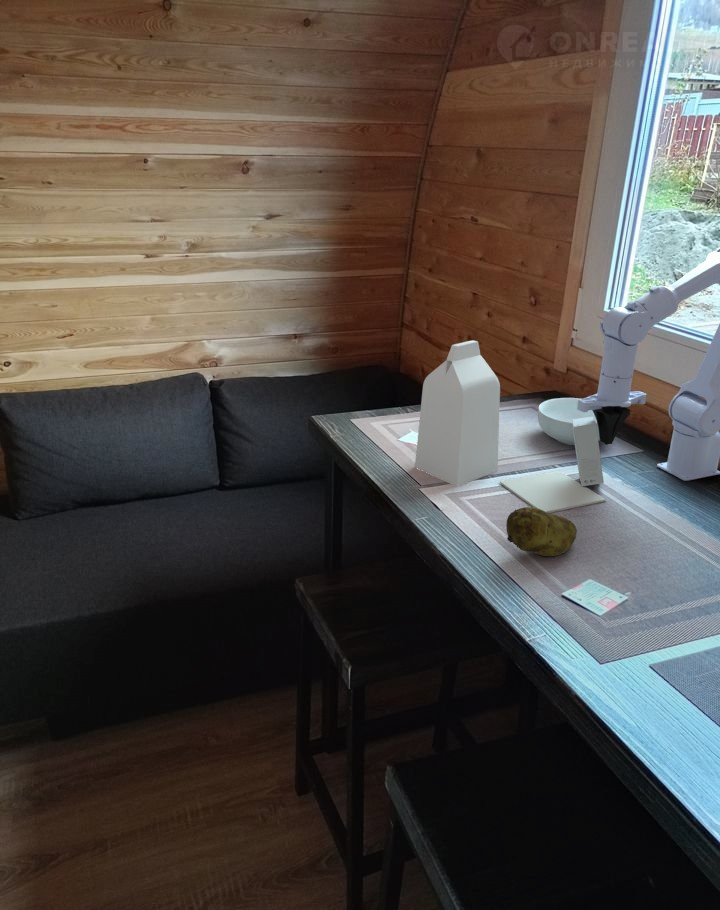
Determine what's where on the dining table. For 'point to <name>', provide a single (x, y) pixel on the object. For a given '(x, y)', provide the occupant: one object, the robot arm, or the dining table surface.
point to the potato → (540, 531)
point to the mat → (552, 491)
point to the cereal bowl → (561, 418)
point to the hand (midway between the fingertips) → (605, 442)
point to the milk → (459, 418)
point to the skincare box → (587, 451)
